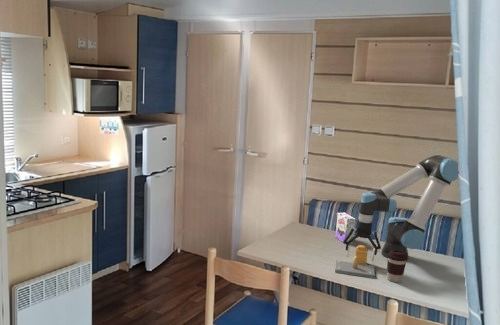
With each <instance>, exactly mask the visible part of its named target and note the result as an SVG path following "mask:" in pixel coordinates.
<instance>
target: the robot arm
mask: <svg viewBox="0 0 500 325" xmlns="http://www.w3.org/2000/svg"><path fill="white" fill-rule="evenodd" d="M458 163H459V162H458V161H457V160H456V159H453V158H451V157H446V156H443V155H438V154H436V155H432V156H429V157H427V158H425V159H423V160H421V161H419V162H418V163H416V164H415V165H416V166H415V167H413V168H412V169H410V170H409V171H406V172H404V174H402V175H400V176H398V177H396V178H394V180H392V181H390V182H389V183H387V184H385V185H384V186H382V187H381V188H379V189H377V190H371V191H368V192H363V193H362V194H361V198H360V206H359V211H358V217H357V218H358V220H357V226H356V228H353V227H352V228H351V231H350V232H349V234H348V235H347V237H346V238H345V239H344V241H343V242H342V243H343V244H344V245H345V251H347V252H346V257H347V258H349V256H350V255H349V253H350V247H351V244H350V243H351V242H354V241H355V240H356V239H357V238H363V239H368V241H369V242H370V243H371V244H372V246H373V250H372V257H371V262H374V260H375V259H374V258H375V256H377V253H378V250H381V256H384V257H385V258H387V259H388V257H387V253H388V252H391V251H392V250H400V251H403V252H404V253H405V255H407V256H408V257H409V251H408V249H409V250H415V249H418V248H420V247H421V246H422V245H423V244H424V243H425V242H424V241H425V231H426V230H427V229H426V226H425V225H426V223H427V222H428V219H429V218H430V217H431V214H432V212H433V211H434V209H435V207H436V205H437V203H438V201H439V199H440V197H441V196H442V194H443V192H444V190H445V188H447V187H450V185H451V184H452V182H454V181H456V180H457V179H459V177H458ZM428 178H429V181H428V183H427V185H426V187H425V189H424V191H423V193H422V194H421V197H420V198H419V200H418V202H417V204H416V206H415V207H414V210H413V212H412V214H411V215H410V217H409V218H407V217H399V216H391V217H389V219H388V221H387V232H386V239H385V242H384V245H383V247H382V246H381V244H380V240H379V238H378V234H377V232H378V231H377V230H372V226H373V223H372V222H373V220H374V214H375V212H380V213H381V212H382V213H394V212H395V211H396V210H397V200H396V199H395V198H393V197H394V196H396V195H397V194H399V193H401V192H402V191H404V190H406V189H407V188H409V187H410V186H411V187H412V185H414V184H416V183H417V182H419V181H421V180H422V179H428ZM353 232H354V233H355V232H356V233H355V235H354V236H353V237H352V238H351V239H350V240H349V241H348V242H347V240H348V239H349V237H350V236H351V235H352V233H353ZM371 235H373V236H374V239H375V241H374V240H373V238H372V236H371ZM375 242H376V243H375Z"/></svg>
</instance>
